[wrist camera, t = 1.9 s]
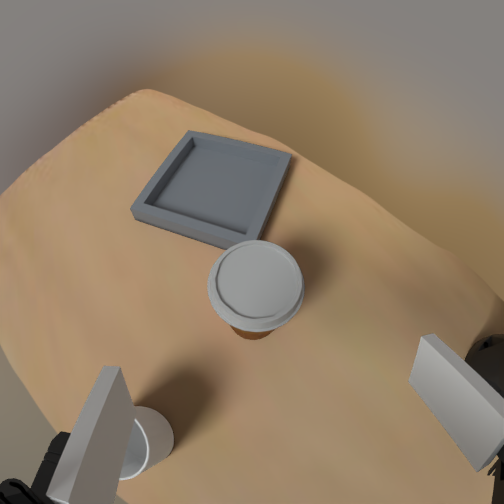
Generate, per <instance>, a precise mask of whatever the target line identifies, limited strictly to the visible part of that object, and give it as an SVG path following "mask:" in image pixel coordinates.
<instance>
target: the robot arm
mask: <svg viewBox="0 0 504 504" xmlns="http://www.w3.org/2000/svg"><path fill="white" fill-rule="evenodd" d="M408 382H409V383H410V385H411V386H412V387H413V388H414V390H415V391H416V392H417V393H418V395H419V396H420V397H421V398H422V400H423V401H424V402H425V404H426V405H427V406H428V407H429V409H430V410H431V411H432V413H433V414H434V415H435V416H436V418H437V419H438V420H439V422H440V423H441V424H442V426H443V427H444V428H445V430H446V431H447V432H448V434H449V435H450V436H451V438H452V439H453V440H454V442H455V443H456V444H457V446H458V447H459V448H460V450H461V451H462V452H463V454H464V455H465V457H466V458H467V459H468V461H469V462H470V463H471V465H472V466H473V468H474V469H475V470H476V472H478V471H480V470H481V469H483V468H484V467H486V466H487V465H489V464H490V463H491V461H492V460H493V459H494V457H495V456H496V455H497V456H498V457H499V459H498V460H497V461H496V463H495V464H494V465H493V466H492V468H491V469H490V470H489V471H488V474H487V475H490V474H491V473H492V472H493V470H494V469H495V468H496V470H495V472H494V473H493V475H492V476H495V481H494V490H493V497H492V504H504V334H495V335H491V336H488V337H486V338H484V339H482V340H480V341H478V342H477V343H476V344H475V345H474V346H473V347H472V348H471V350H470V351H469V353H468V355H467V357H466V359H465V361H464V360H463V359H462V358H460V357H459V356H458V355H457V354H456V353H455V352H454V351H453V350H452V349H451V348H449V347H448V346H447V345H446V344H445V343H444V342H443V341H442V340H440V339H439V338H438V337H437V336H436V335H435V334H434V333H432V334H428V335H424V336H421V339H420V343H419V347H418V351H417V354H416V358H415V361H414V365H413V368H412V372H411V375H410V378H409V381H408ZM136 413H137V412H136V410H135V407H134V405H133V402H132V399H131V397H130V394H129V391H128V388H127V385H126V383H125V380H124V377H123V374H122V371H121V368H120V367H118V366H104V367H103V368H102V370H101V372H100V374H99V376H98V378H97V380H96V382H95V384H94V386H93V388H92V390H91V392H90V394H89V396H88V398H87V400H86V402H85V404H84V407H83V409H82V411H81V413H80V415H79V417H78V419H77V421H76V424H75V426H74V428H73V430H72V432H71V433H67V432H62V431H61V432H60V433H59V434H58V435H57V436H56V437H55V438H54V439H53V440H52V441H51V444H50V446H49V448H48V452H47V453H46V454H45V456H44V461H42V463H41V465H40V468H39V470H38V472H37V474H36V477H35V479H34V482H33V484H32V486H31V488H29V487H28V486H27V485H26V484H24V483H23V482H22V481H21V480H18V479H14V478H13V479H7V480H5V481H3V482H2V483H1V484H0V504H114V500H115V495H116V491H117V487H118V482H119V478H120V474H121V470H122V466H123V462H124V458H125V454H126V450H127V446H128V442H129V438H130V435H131V431H132V427H133V424H134V420H135V417H136Z"/></svg>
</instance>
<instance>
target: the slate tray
mask: <svg viewBox="0 0 504 504" xmlns="http://www.w3.org/2000/svg"><path fill="white" fill-rule="evenodd" d="M291 156H292V154H289V153H286V152H282V151H278V150H274V149H271V148H267V147H263V146H259V145H255V144H251V143H247V142H242V141H238V140H234V139H229V138H225V137H220V136H215V135H211V134H206V133H201V132H195V131H190V130H188V132H187V133H186V134H185V135H184V137H183V138H182V139H181V140H180V141H179V143H178V144H177V145H176V146H175V148H174V149H173V150H172V152H171V153H170V154H169V155H168V157H167V158H166V159H165V161H164V162H163V163H162V165H161V166H160V167H159V168H158V170H157V171H156V173H155V174H154V175H153V177H152V178H151V179H150V181H149V182H148V183H147V185H146V186H145V188H144V189H143V190H142V192H141V193H140V195H139V196H138V198H137V199H136V200H135V202H134V203H133V205H132V206H131V208H130V210H131V212H132V214H133V216H134V218H135V220H138V221H141V222H144V223H147V224H150V225H152V226H155V227H158V228H161V229H164V230H167V231H170V232H173V233H176V234H179V235H182V236H185V237H188V238H191V239H194V240H197V241H200V242H203V243H206V244H209V245H212V246H215V247H218V248H221V249H224V250H227V249H229V248H230V247H232V246H234V245H236V244H238V243H241V242H244V241H251V240H260V238H261V236H262V233H263V231H264V228H265V226H266V224H267V221H268V219H269V216H270V214H271V211H272V209H273V206H274V204H275V201H276V199H277V197H278V194H279V192H280V189H281V187H282V184H283V182H284V179H285V177H286V174H287V172H288V170H289V167H290V162H291Z"/></svg>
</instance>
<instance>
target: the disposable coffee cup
mask: <svg viewBox="0 0 504 504" xmlns="http://www.w3.org/2000/svg"><path fill="white" fill-rule="evenodd" d="M207 287H208V296H209V298H210V301H211V304H212V306H213V308H214V309H215V311H216V313H217V314H218V315H219V316H220V317H221V318H222V319H223V320H224V321H225V322H227V323H228V324H230V326H231V327H232V329H233V330H234V331H235V333H237V334H238V335H239V336H241V337H243V338H245V339H250V340H257V339H261V338H263V337H266V336H267V335H269V334H270V333H271V332H272V331H273V330H274V329H275V328H278V327H280V326H282V325H283V324H285V323H286V322H288V321H289V320H290V319H291V318H292V317H293V316H294V315H295V314H296V313H297V311H298V310H299V308H300V306H301V304H302V301H303V297H304V290H305V285H304V278H303V275H302V272H301V270H300V268H299V266H298V264H297V263H296V261H295V259H294V258H293V257H292V256H291V254H289V253H288V252H287V251H286V250H285V249H283V248H282V247H280V246H278V245H276V244H274V243H271V242H267V241H261V240H251V241H244V242H241V243H238V244H236V245H234V246H232V247H230V248H229V249H227V250H226V251H225V252H224V253H223V254H222V255H221V256H220V257H219V258H218V260H217V261H216V262H215V263H214V265H213V267H212V269H211V271H210V274H209V277H208V285H207Z"/></svg>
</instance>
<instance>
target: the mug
mask: <svg viewBox="0 0 504 504" xmlns="http://www.w3.org/2000/svg"><path fill="white" fill-rule="evenodd" d="M134 407H135V410H136V412H137V413H136V417H135V420H134V424H133V427H132V431H131V435H130V438H129V442H128V446H127V450H126V454H125V458H124V462H123V466H122V470H121V474H120V478H119V480H126V479H131V478H133V477H135V476H137V475H139V474H141V473H142V472H144V471H146V470H147V469H149V468H151V467H152V466H154V465H156V464H157V463H159V462H161V461H162V460H164V459H165V458H167V456H168V455H169V454H170V453H171V450H172V448H173V445H174V435H173V430H172V428H171V426H170V424H169V422H168V421H167V420H166V419H165V417H164V416H163V415H161V414H160V413H159V412H158V411H156V410H153V409H151V408H148V407H143V406H134Z"/></svg>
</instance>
